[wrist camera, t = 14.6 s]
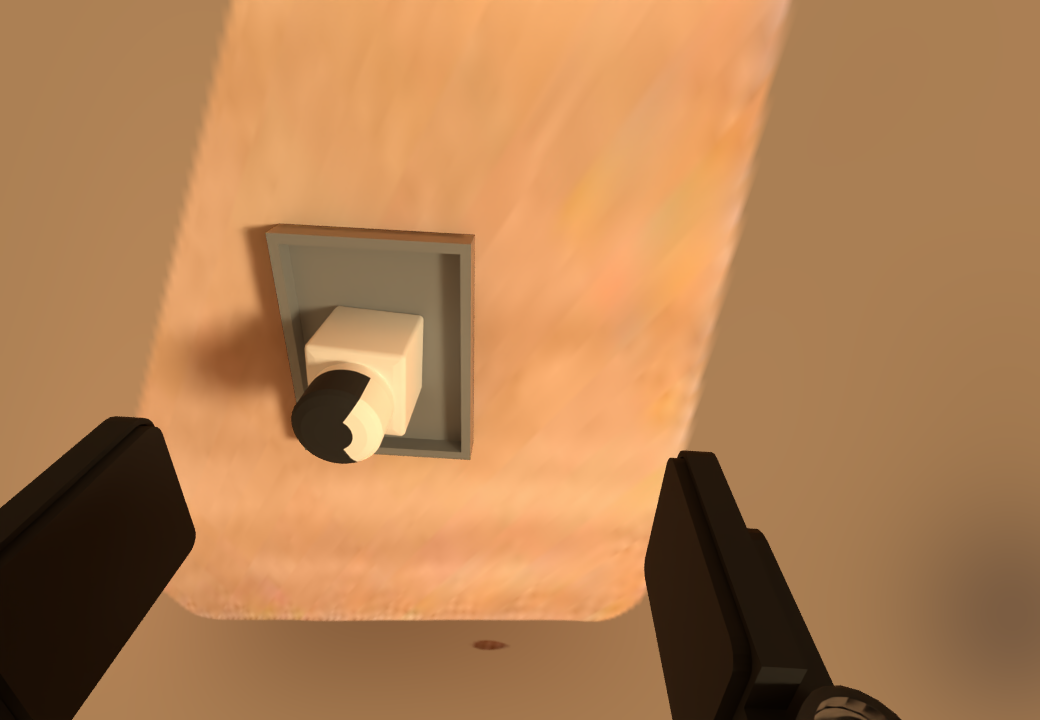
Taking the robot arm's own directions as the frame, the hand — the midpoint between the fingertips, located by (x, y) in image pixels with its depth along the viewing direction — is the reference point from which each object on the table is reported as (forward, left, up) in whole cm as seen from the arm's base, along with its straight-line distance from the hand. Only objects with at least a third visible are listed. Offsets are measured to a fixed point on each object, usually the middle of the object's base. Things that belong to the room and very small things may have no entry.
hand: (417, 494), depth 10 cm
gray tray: (+15, -10, -33) cm, 38 cm away
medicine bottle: (+15, -10, -33) cm, 37 cm away
